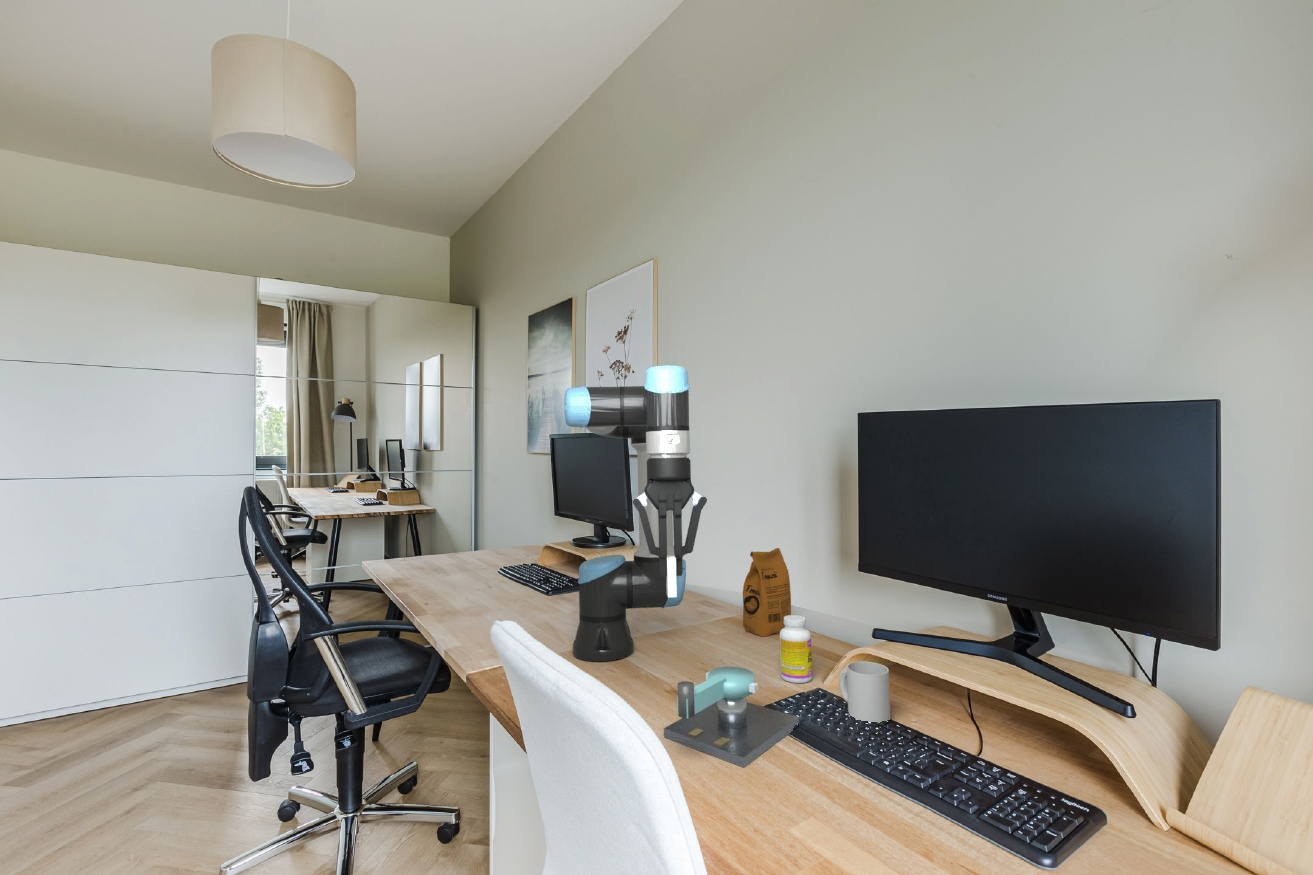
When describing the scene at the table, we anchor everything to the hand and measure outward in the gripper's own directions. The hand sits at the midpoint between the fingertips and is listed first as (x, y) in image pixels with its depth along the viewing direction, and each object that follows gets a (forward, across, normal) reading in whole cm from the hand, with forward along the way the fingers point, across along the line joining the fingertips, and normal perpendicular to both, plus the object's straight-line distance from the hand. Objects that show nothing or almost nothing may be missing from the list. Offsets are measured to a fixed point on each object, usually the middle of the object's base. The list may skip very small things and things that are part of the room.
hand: (671, 595), depth 100 cm
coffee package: (+25, +31, +60) cm, 72 cm away
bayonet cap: (+17, +7, -1) cm, 18 cm away
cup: (+25, +35, +6) cm, 43 cm away
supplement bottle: (+25, +29, +25) cm, 45 cm away
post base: (+24, +10, +2) cm, 27 cm away
